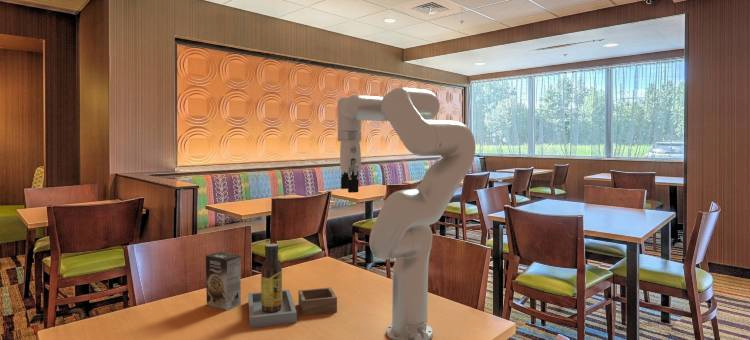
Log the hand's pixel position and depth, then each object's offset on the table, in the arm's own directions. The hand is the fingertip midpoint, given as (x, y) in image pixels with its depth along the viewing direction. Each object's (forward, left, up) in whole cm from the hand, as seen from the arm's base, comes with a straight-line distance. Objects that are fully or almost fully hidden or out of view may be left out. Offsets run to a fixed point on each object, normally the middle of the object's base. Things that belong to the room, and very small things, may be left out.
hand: (349, 190), depth 141 cm
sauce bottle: (-2, +25, -36) cm, 44 cm away
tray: (-2, +25, -36) cm, 44 cm away
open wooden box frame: (-3, +11, -36) cm, 38 cm away
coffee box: (+8, +39, -36) cm, 54 cm away
